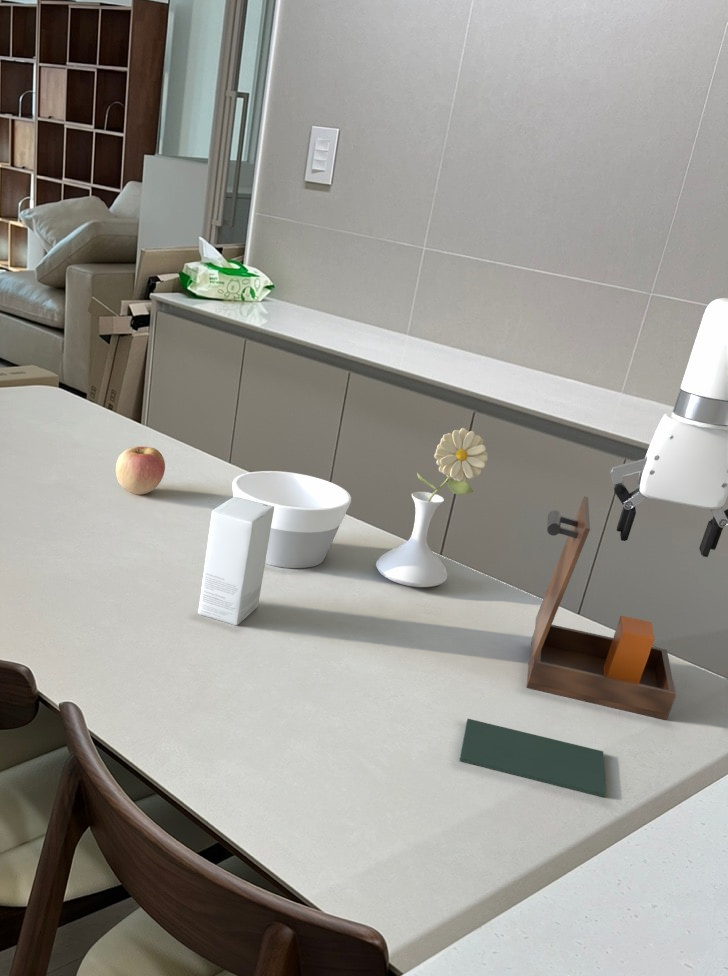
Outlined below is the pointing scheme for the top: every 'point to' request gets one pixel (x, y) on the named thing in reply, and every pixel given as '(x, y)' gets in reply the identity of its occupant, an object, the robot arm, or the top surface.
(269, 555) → the bowl
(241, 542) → the cosmetic box
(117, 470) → the apple
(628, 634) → the orange block
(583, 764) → the mat
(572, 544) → the lid
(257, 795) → the top surface
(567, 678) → the chest
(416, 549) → the flower in vase
